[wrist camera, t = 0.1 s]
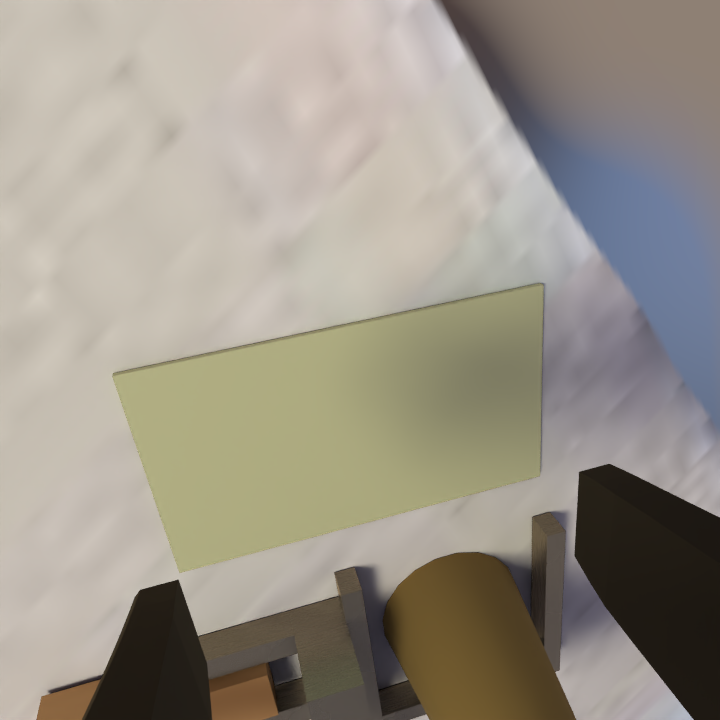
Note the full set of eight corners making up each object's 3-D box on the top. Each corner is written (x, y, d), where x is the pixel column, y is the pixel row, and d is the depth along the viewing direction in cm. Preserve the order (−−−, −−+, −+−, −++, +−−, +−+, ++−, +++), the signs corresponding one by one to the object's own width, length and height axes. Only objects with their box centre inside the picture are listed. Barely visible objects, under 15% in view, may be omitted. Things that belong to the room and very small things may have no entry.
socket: (546, 648, 29) (594, 727, 26) (233, 749, 27) (240, 851, 23) (550, 512, 26) (607, 583, 22) (186, 614, 23) (186, 712, 20)
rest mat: (537, 473, 24) (539, 476, 24) (179, 568, 22) (179, 573, 22) (540, 283, 21) (543, 284, 21) (112, 373, 19) (112, 376, 18)
